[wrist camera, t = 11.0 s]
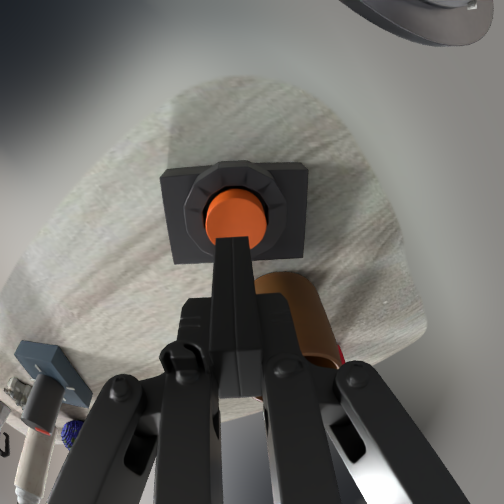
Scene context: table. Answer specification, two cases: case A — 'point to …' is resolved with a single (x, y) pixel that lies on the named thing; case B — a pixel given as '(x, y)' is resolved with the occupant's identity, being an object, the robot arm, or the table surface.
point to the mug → (304, 317)
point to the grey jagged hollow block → (18, 392)
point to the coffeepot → (0, 416)
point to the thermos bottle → (34, 466)
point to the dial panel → (54, 370)
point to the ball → (70, 432)
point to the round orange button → (236, 216)
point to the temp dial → (43, 405)
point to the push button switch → (236, 177)
